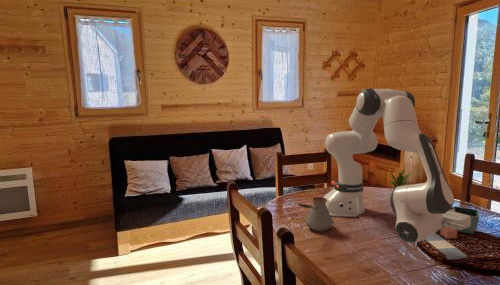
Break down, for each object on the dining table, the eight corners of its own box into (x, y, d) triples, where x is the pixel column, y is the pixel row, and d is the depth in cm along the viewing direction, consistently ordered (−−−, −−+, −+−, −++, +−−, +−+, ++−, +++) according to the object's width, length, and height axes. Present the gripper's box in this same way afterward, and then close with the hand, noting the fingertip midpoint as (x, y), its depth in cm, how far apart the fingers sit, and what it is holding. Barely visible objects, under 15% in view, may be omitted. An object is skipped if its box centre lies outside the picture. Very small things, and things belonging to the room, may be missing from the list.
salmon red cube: (446, 241, 130) (447, 231, 129) (440, 236, 134) (440, 227, 133) (456, 240, 130) (457, 230, 129) (449, 235, 134) (450, 226, 133)
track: (447, 259, 116) (448, 257, 116) (410, 230, 140) (410, 228, 139) (467, 258, 116) (467, 255, 116) (426, 229, 140) (426, 227, 140)
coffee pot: (315, 220, 152) (315, 188, 150) (337, 227, 144) (338, 194, 142) (286, 235, 137) (286, 201, 135) (309, 244, 130) (309, 207, 127)
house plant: (421, 205, 168) (423, 173, 165) (393, 205, 168) (394, 174, 165) (408, 195, 182) (409, 166, 179) (382, 196, 182) (383, 167, 179)
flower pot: (477, 238, 131) (479, 216, 129) (451, 233, 136) (452, 212, 134) (476, 230, 138) (478, 209, 137) (451, 225, 143) (453, 205, 141)
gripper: (463, 219, 106) (478, 208, 115) (400, 203, 122) (418, 194, 130) (461, 237, 107) (477, 226, 116) (399, 219, 123) (417, 210, 131)
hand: (445, 209), depth 123 cm, fingers closed on pawn, 4 cm apart
